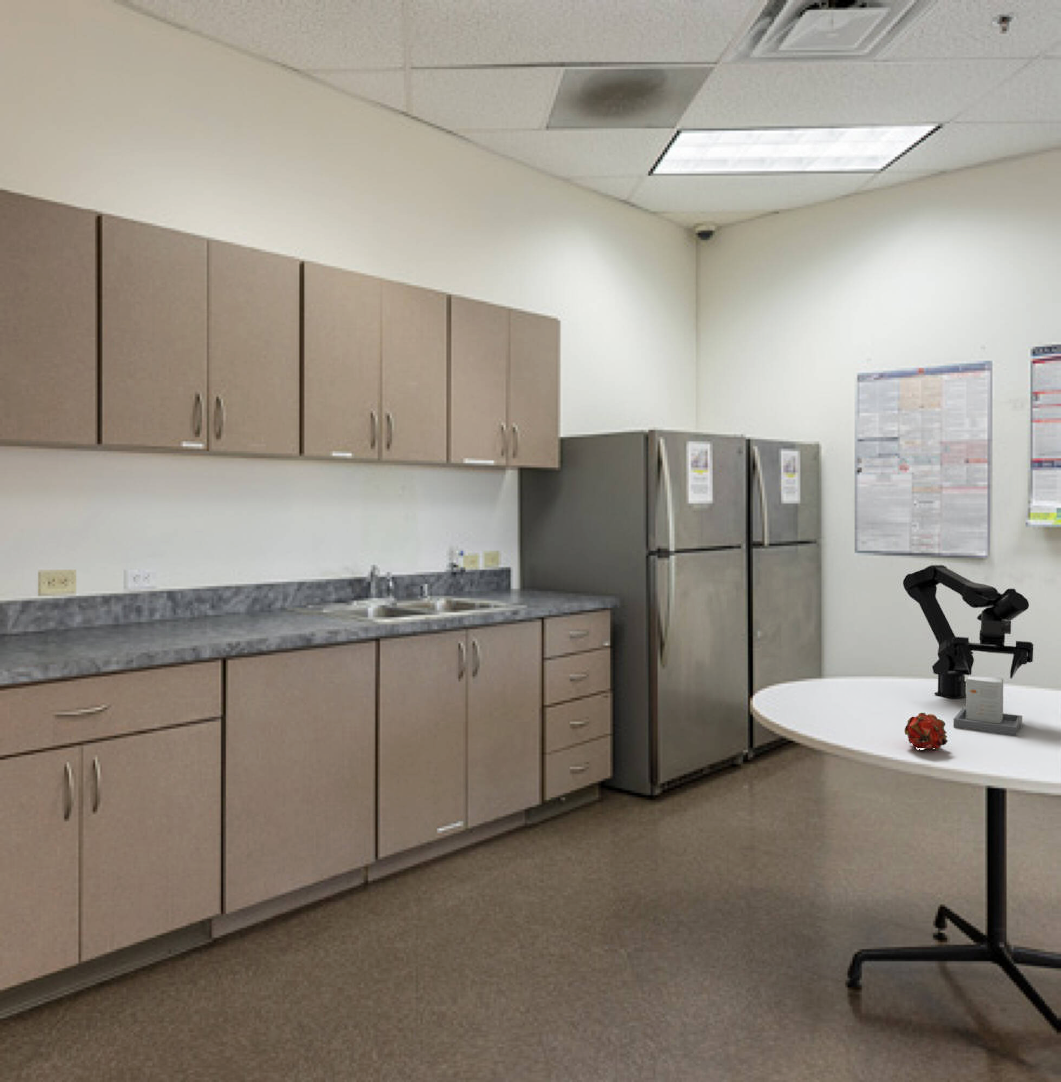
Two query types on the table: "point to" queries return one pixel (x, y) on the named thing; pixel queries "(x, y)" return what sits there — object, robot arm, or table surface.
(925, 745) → the dragon fruit
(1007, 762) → the table surface
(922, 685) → the table surface
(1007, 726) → the tray
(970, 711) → the small box
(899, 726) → the table surface
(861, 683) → the table surface
